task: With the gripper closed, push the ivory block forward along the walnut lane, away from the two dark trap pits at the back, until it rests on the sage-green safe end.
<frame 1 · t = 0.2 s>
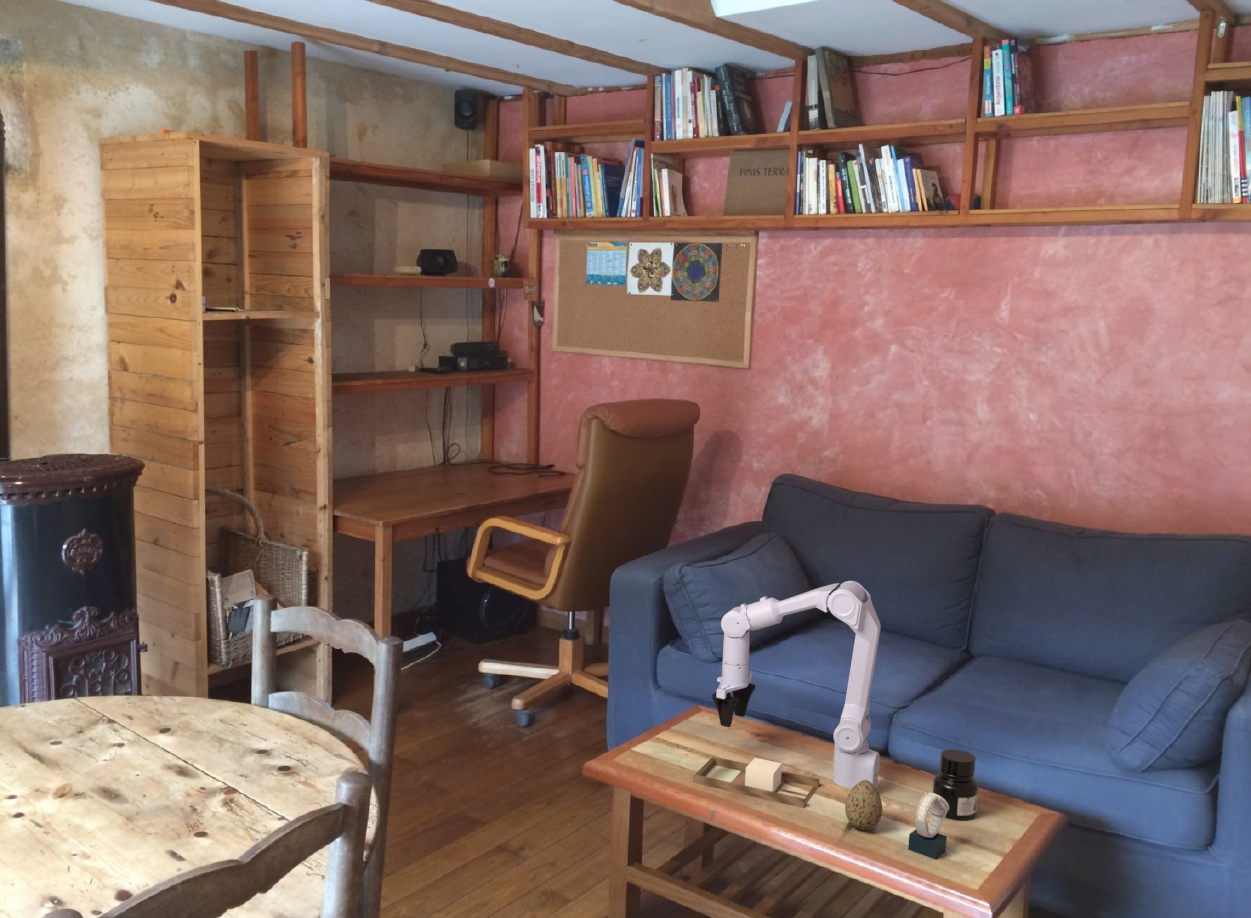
hand: (732, 720, 245), 10 cm above the table, tool pointing down, fingers open, 7 cm apart
ink bottle: (953, 812, 226), on the table
decorative egg: (862, 829, 217), on the table
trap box: (755, 791, 233), on the table
ivory block: (762, 785, 232), point 1 cm above the table, touching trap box
watch: (926, 851, 209), on the table
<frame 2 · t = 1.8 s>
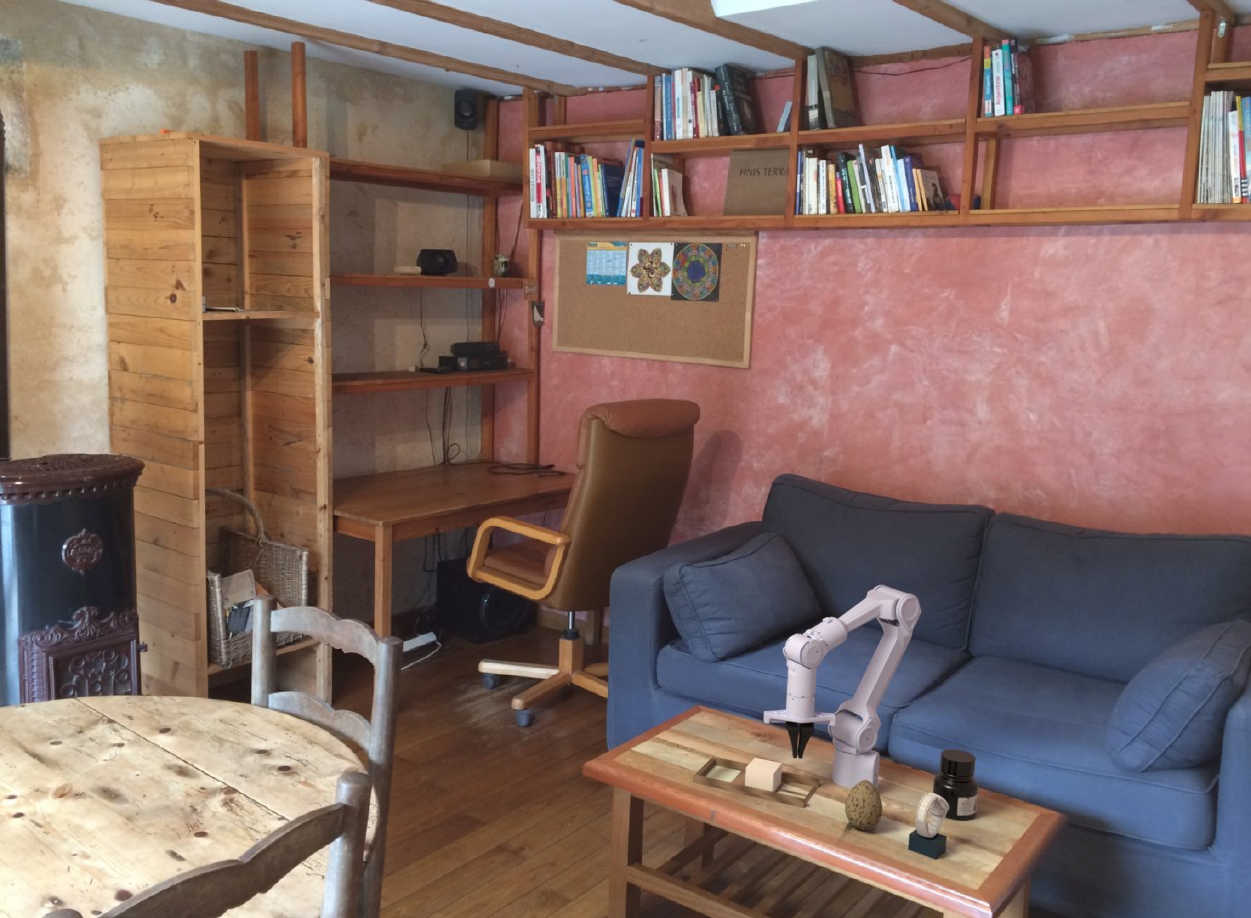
hand: (797, 756, 228), 9 cm above the table, tool pointing down, fingers closed
nothing on the table moved.
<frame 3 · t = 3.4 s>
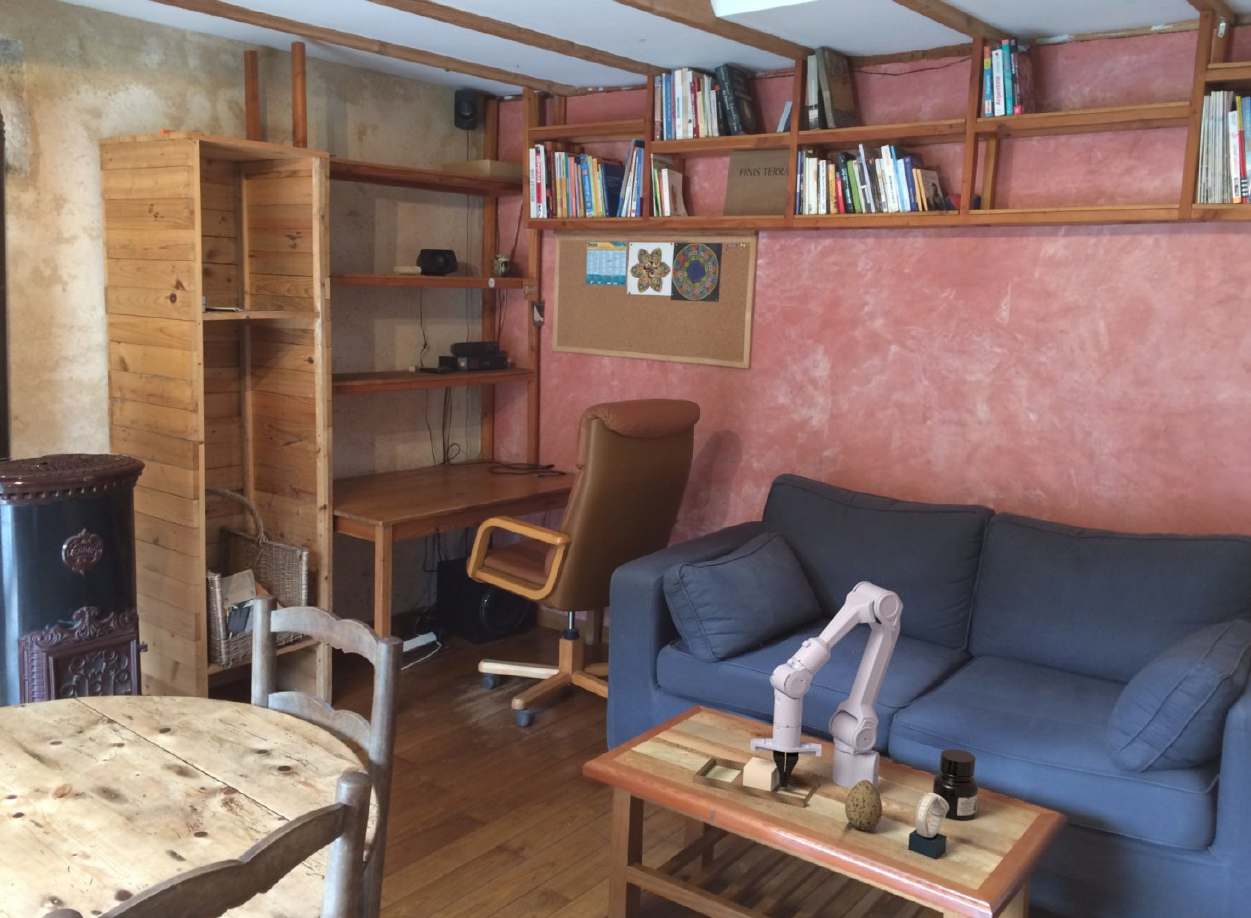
hand: (783, 785, 230), 3 cm above the table, tool pointing down, fingers closed
ivory block: (760, 785, 232), point 2 cm above the table, touching gripper
everything else where it was.
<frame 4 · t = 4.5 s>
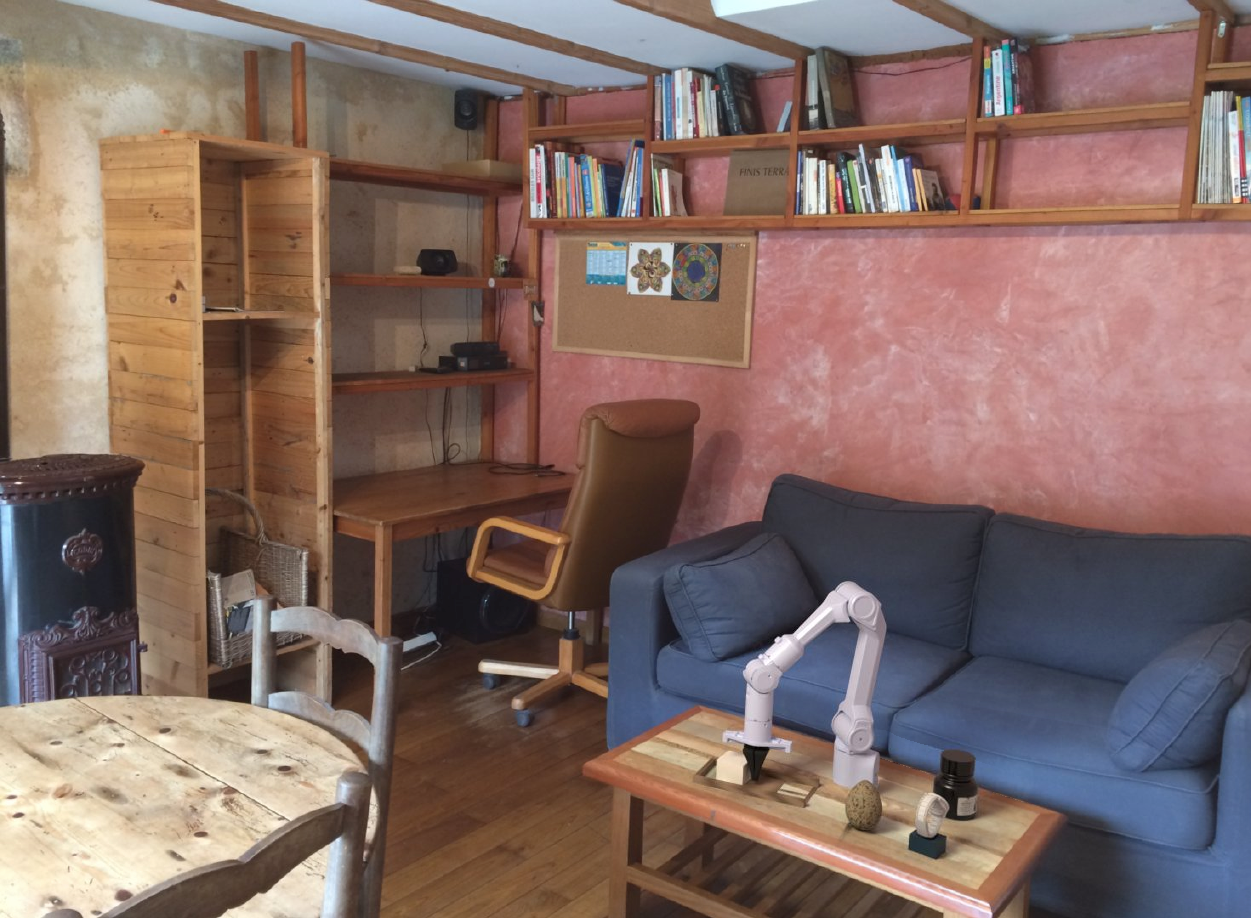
hand: (755, 778, 232), 3 cm above the table, tool pointing down, fingers closed
ivory block: (734, 777, 235), point 2 cm above the table, touching gripper
everything else where it was.
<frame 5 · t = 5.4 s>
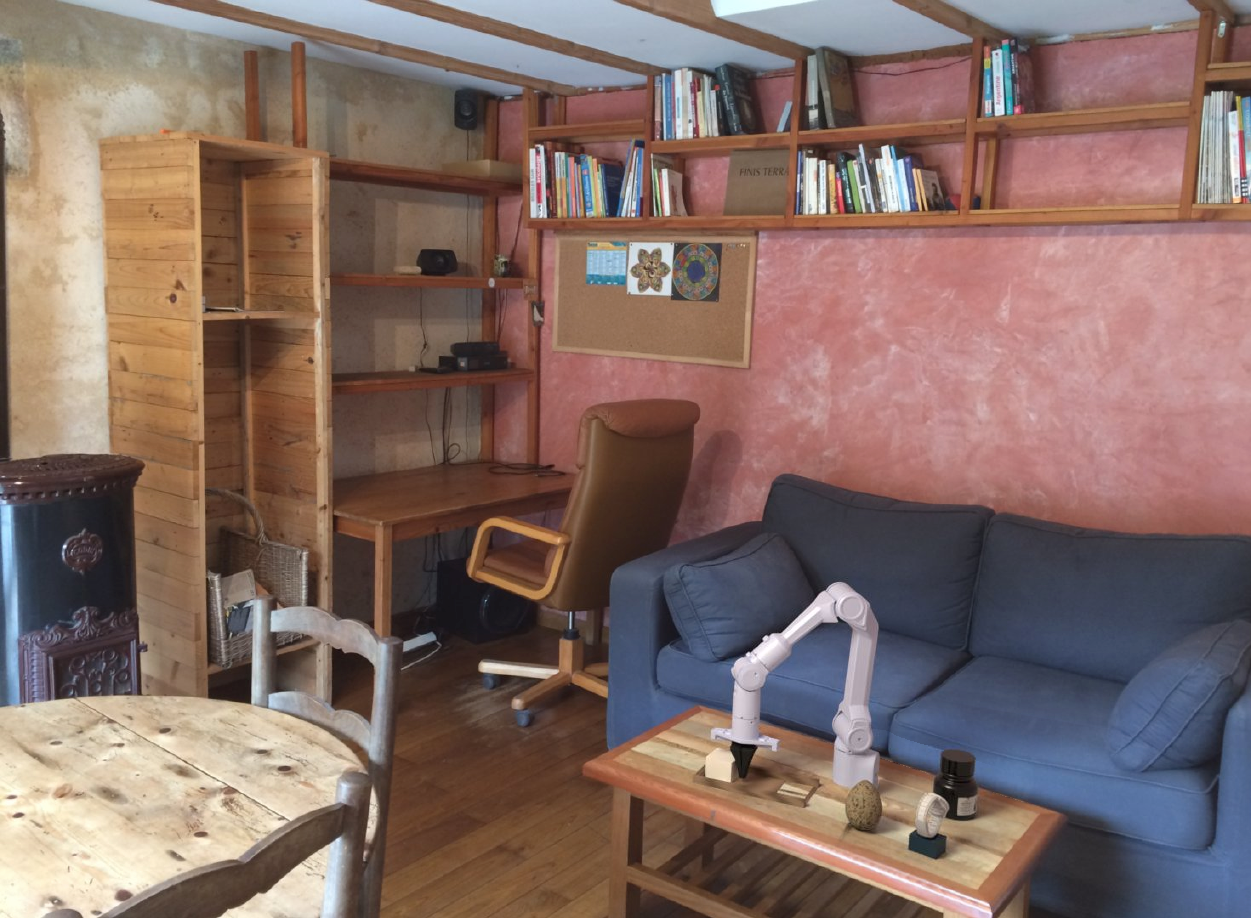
hand: (742, 776, 233), 3 cm above the table, tool pointing down, fingers closed
ivory block: (723, 775, 236), point 1 cm above the table, touching gripper, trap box
everything else where it was.
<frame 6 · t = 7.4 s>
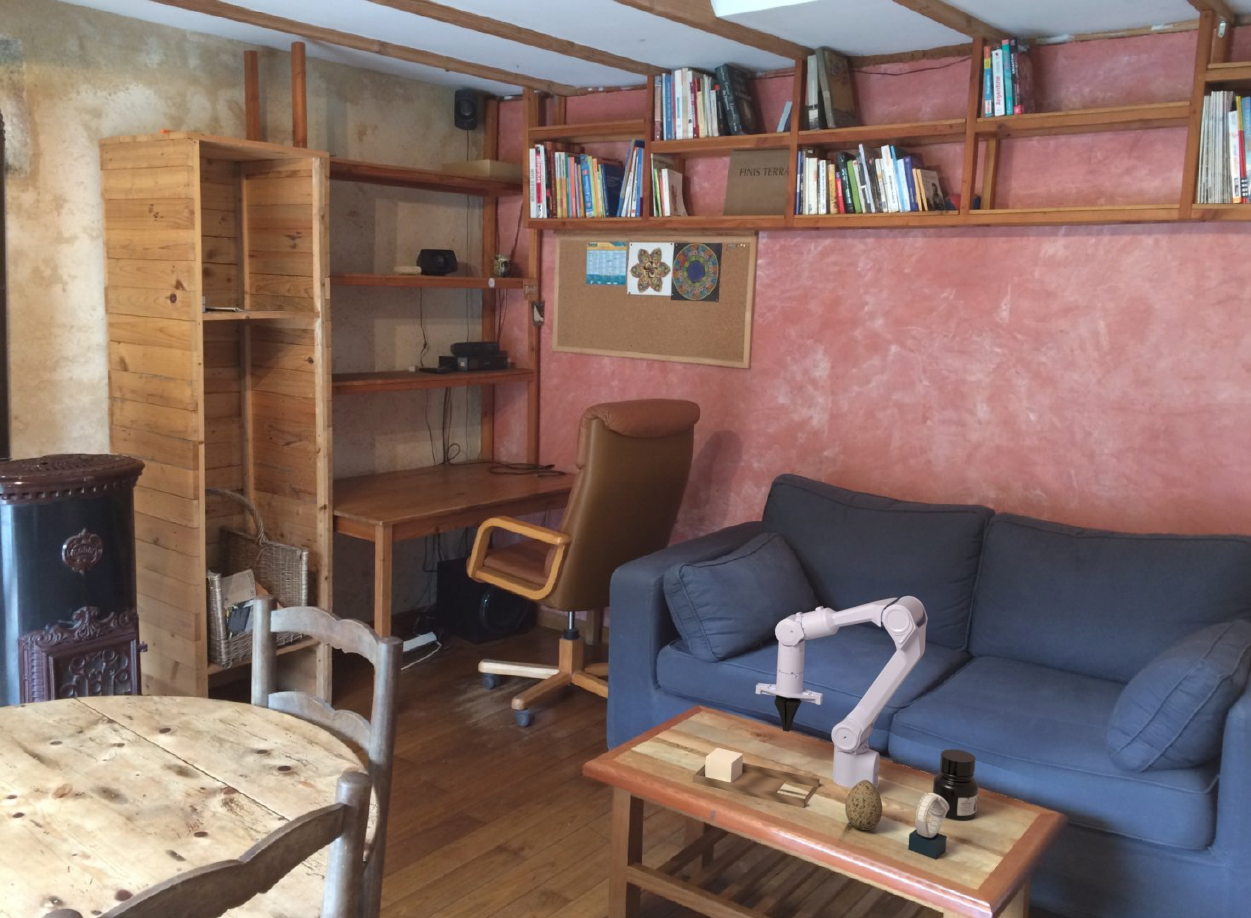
hand: (786, 729, 242), 9 cm above the table, tool pointing down, fingers closed
ivory block: (723, 775, 236), point 1 cm above the table, touching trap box
everything else where it was.
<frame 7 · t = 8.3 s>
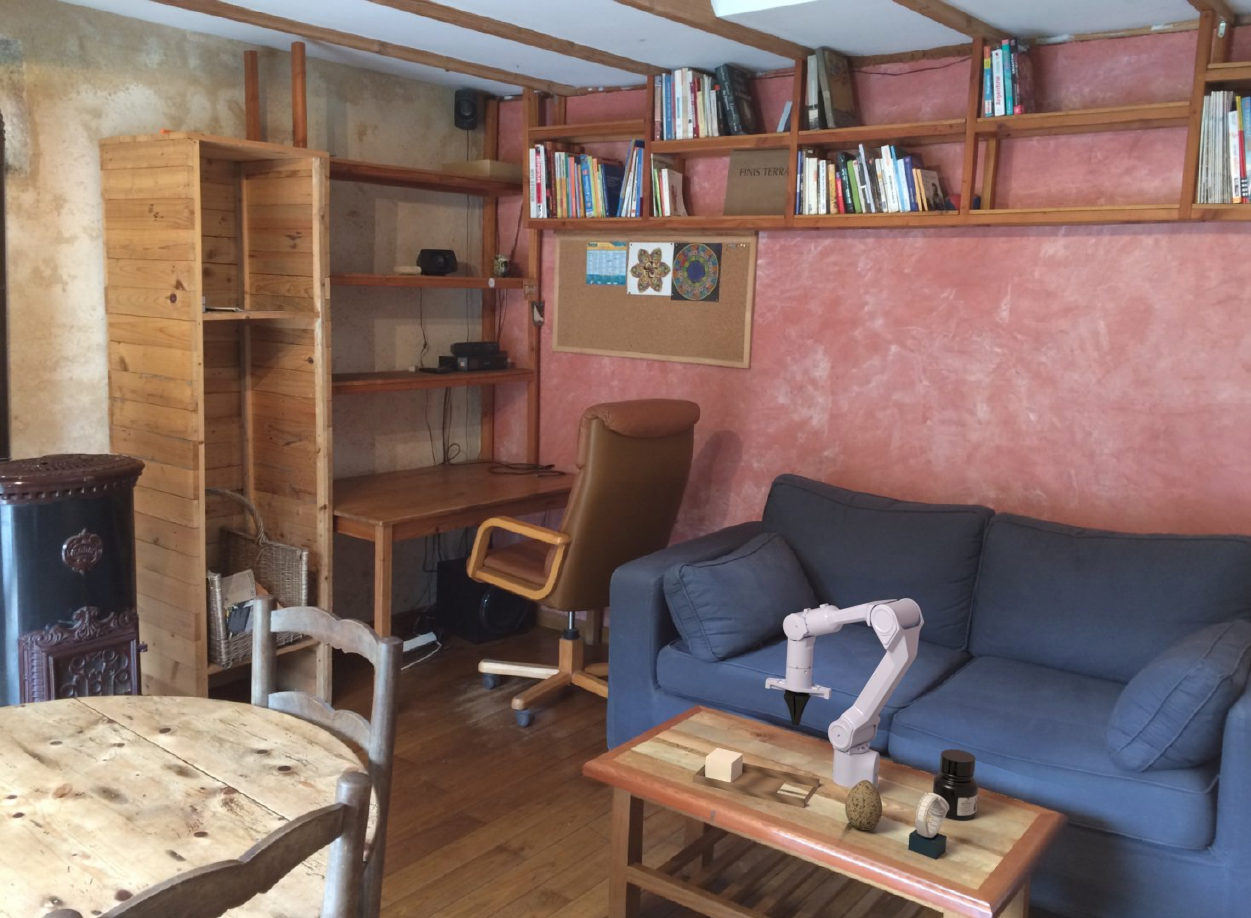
hand: (796, 723, 246), 9 cm above the table, tool pointing down, fingers closed
nothing on the table moved.
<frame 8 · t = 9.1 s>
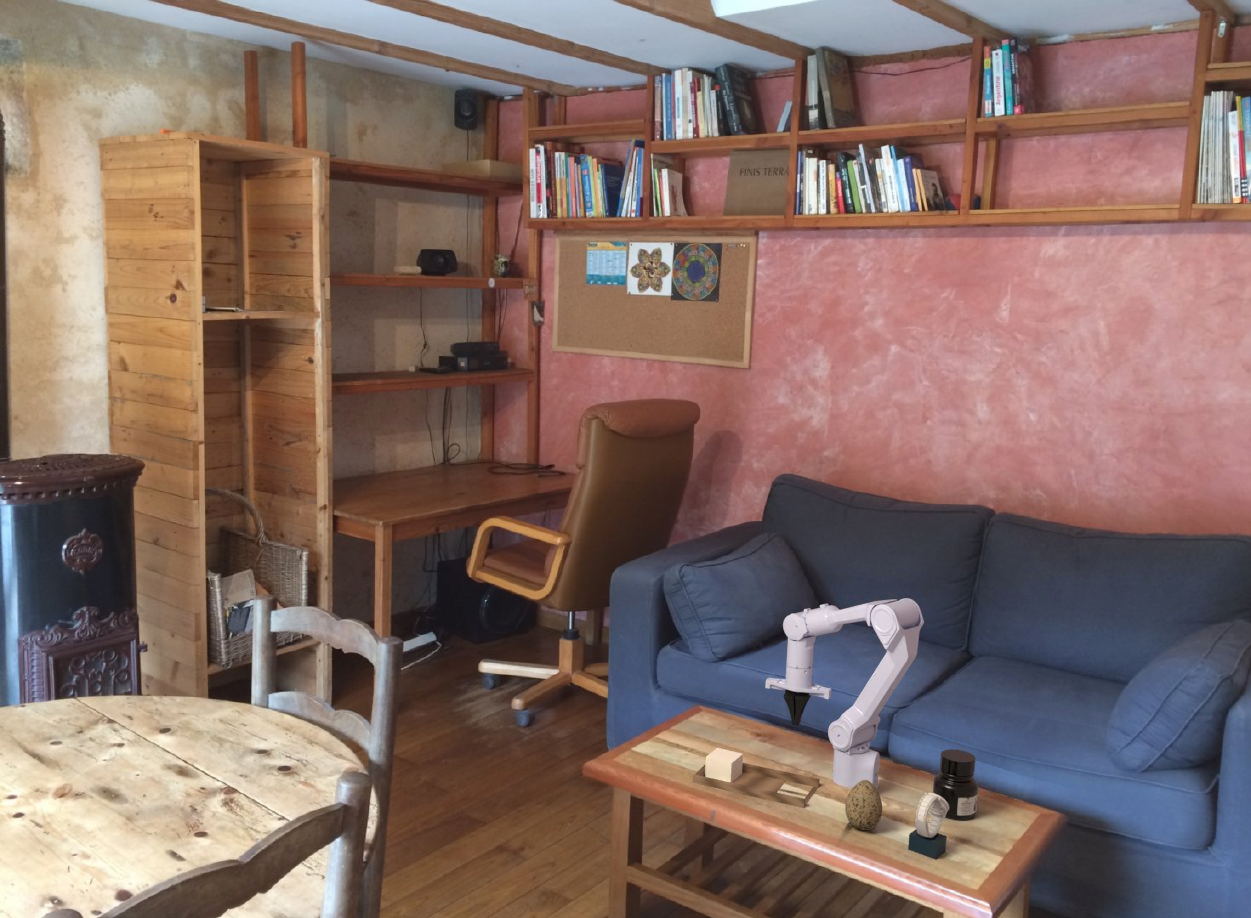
hand: (796, 723, 246), 9 cm above the table, tool pointing down, fingers closed
nothing on the table moved.
at the end: ivory block 1.0 cm from the target spot on the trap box, point 1.5 cm above the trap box's base; ivory block tilted 0°; ivory block moved 9.2 cm from its start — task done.
